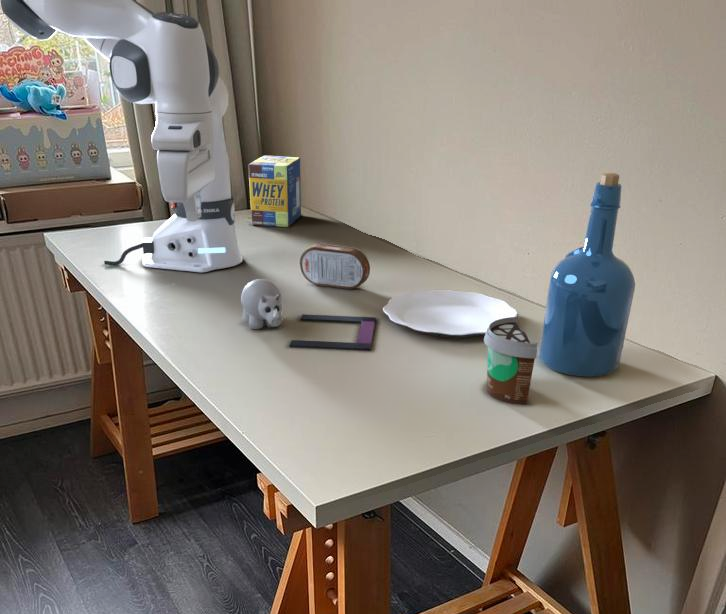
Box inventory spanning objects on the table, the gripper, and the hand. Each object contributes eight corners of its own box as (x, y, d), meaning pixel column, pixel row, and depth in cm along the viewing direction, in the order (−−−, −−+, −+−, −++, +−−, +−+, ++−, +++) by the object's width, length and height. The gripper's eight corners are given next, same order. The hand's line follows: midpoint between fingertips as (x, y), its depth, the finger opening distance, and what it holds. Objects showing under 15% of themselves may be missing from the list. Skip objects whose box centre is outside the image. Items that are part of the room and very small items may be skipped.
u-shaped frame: (289, 347, 134) (289, 344, 134) (302, 316, 148) (302, 314, 148) (370, 350, 133) (370, 348, 133) (375, 319, 147) (375, 317, 147)
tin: (370, 288, 163) (371, 247, 159) (365, 292, 161) (366, 251, 157) (304, 280, 168) (303, 240, 163) (298, 284, 165) (297, 244, 161)
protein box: (251, 225, 209) (247, 163, 201) (266, 212, 222) (263, 154, 214) (288, 227, 208) (287, 165, 200) (302, 215, 221) (300, 156, 213)
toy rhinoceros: (256, 343, 135) (254, 295, 131) (238, 321, 145) (235, 276, 140) (295, 338, 138) (294, 291, 133) (275, 316, 147) (273, 272, 143)
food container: (471, 376, 125) (477, 316, 120) (509, 375, 125) (516, 315, 120) (488, 409, 114) (495, 345, 109) (529, 408, 115) (538, 344, 110)
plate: (442, 291, 163) (442, 282, 162) (542, 321, 148) (543, 312, 147) (356, 317, 148) (356, 308, 147) (458, 355, 132) (459, 344, 132)
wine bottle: (630, 379, 125) (672, 182, 109) (550, 380, 124) (581, 182, 108) (601, 347, 137) (636, 166, 121) (527, 348, 136) (553, 165, 120)
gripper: (184, 122, 134) (192, 205, 141) (147, 139, 116) (158, 233, 124) (220, 123, 133) (226, 206, 141) (188, 140, 116) (197, 234, 123)
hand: (194, 219), depth 132 cm, fingers closed
